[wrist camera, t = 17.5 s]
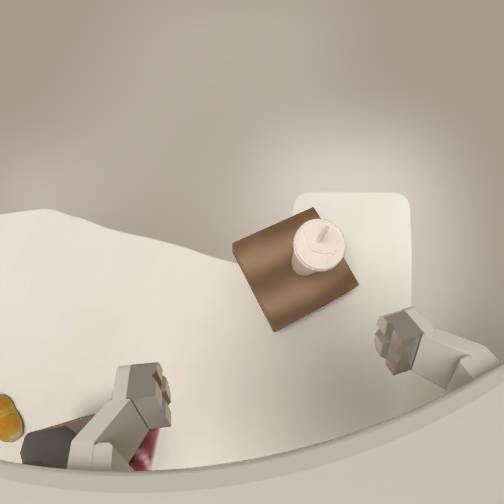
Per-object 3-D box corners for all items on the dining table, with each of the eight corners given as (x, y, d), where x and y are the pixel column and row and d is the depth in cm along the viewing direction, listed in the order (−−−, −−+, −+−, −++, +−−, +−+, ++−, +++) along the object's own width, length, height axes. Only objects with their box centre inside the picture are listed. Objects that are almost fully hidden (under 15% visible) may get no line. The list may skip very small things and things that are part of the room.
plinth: (350, 290, 51) (359, 284, 47) (273, 332, 48) (277, 329, 44) (308, 217, 54) (313, 207, 51) (232, 252, 52) (232, 243, 48)
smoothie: (296, 234, 49) (320, 192, 35) (332, 257, 48) (368, 224, 35) (273, 269, 47) (290, 237, 33) (311, 293, 46) (342, 271, 33)
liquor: (72, 419, 41) (-61, 451, 13) (118, 408, 43) (-5, 448, 14) (93, 469, 39) (-19, 540, 10) (140, 460, 40) (47, 550, 12)
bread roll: (6, 386, 41) (-7, 386, 38) (30, 429, 39) (18, 432, 36) (-15, 406, 39) (-28, 406, 36) (8, 447, 37) (-4, 450, 34)
